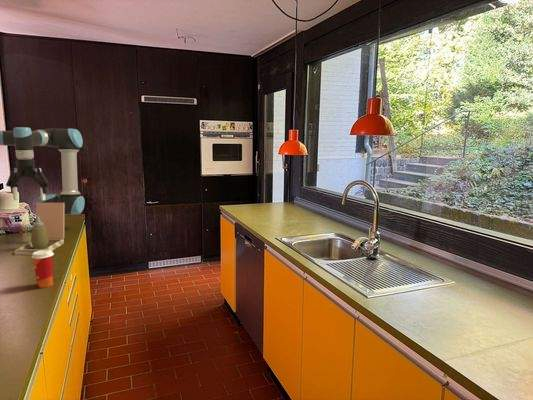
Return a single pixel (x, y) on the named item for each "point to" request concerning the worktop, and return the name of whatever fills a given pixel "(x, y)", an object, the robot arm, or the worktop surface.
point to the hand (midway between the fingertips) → (29, 200)
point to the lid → (52, 218)
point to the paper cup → (43, 268)
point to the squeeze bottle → (39, 235)
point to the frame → (26, 251)
